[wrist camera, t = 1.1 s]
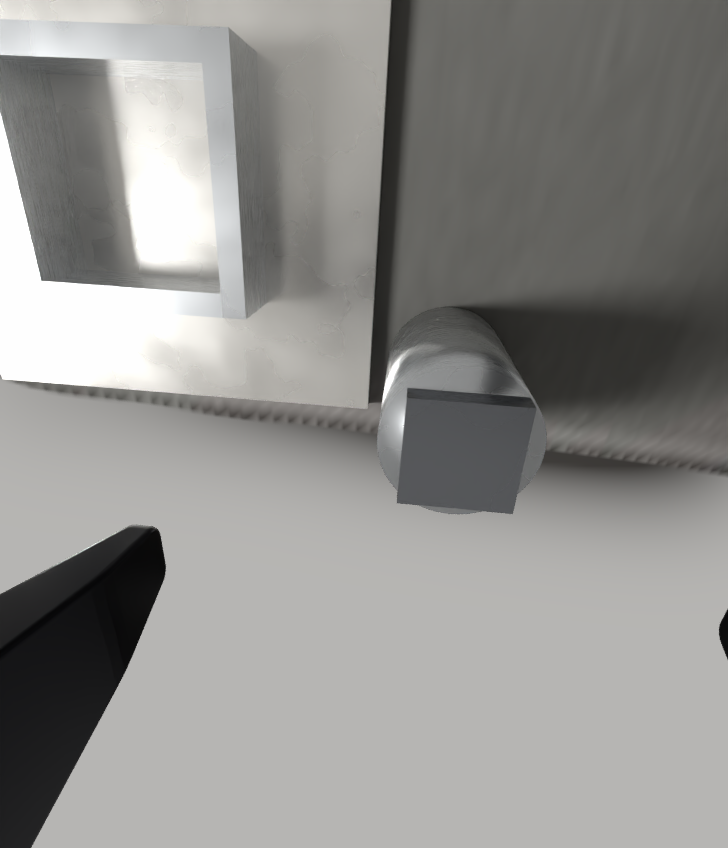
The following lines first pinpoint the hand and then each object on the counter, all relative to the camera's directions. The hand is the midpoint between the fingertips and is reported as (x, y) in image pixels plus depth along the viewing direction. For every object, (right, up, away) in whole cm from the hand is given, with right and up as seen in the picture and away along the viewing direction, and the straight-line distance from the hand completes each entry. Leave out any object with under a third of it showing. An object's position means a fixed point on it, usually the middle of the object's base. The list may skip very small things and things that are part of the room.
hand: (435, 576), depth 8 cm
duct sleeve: (+2, +5, +12) cm, 13 cm away
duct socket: (-8, +11, +10) cm, 17 cm away
